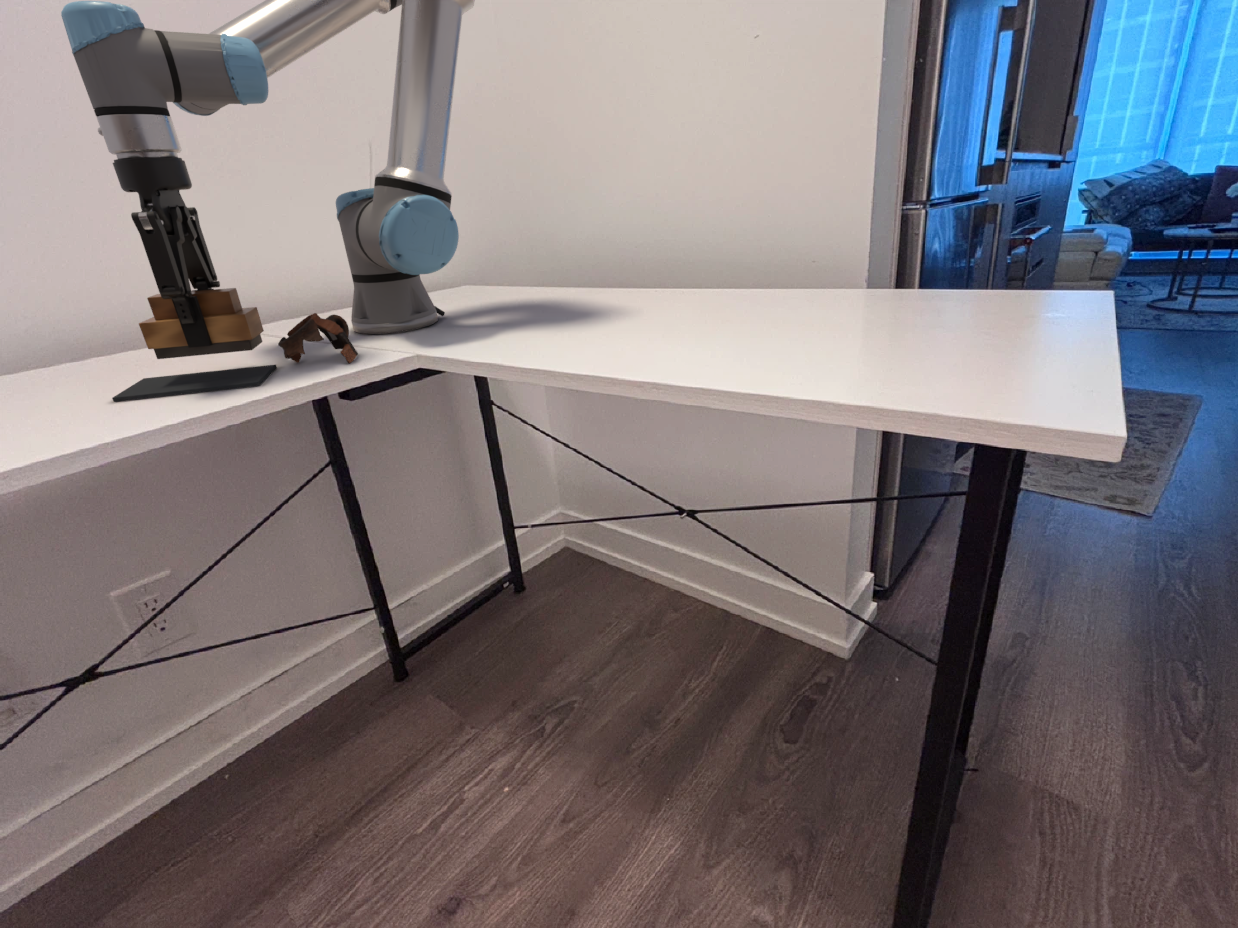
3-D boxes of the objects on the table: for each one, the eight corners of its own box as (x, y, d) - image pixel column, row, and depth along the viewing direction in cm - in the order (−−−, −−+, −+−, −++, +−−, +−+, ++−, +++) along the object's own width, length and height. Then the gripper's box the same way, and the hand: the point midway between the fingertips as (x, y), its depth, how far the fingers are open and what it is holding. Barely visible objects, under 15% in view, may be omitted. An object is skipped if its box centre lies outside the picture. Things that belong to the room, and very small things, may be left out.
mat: (277, 368, 93) (276, 364, 93) (259, 386, 85) (258, 381, 85) (145, 382, 90) (143, 378, 90) (113, 402, 82) (111, 397, 82)
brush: (152, 360, 84) (129, 300, 81) (169, 350, 89) (148, 293, 86) (255, 350, 86) (237, 291, 83) (266, 341, 91) (250, 285, 88)
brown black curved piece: (348, 371, 91) (304, 327, 87) (305, 398, 94) (261, 356, 90) (377, 331, 100) (338, 290, 96) (337, 357, 104) (297, 317, 99)
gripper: (148, 160, 85) (204, 329, 95) (71, 155, 68) (149, 360, 78) (208, 157, 86) (257, 324, 96) (146, 152, 70) (214, 354, 80)
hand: (209, 340), depth 87 cm, fingers closed on brush, 6 cm apart
